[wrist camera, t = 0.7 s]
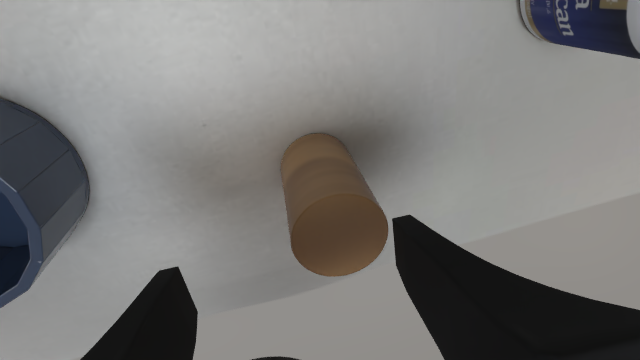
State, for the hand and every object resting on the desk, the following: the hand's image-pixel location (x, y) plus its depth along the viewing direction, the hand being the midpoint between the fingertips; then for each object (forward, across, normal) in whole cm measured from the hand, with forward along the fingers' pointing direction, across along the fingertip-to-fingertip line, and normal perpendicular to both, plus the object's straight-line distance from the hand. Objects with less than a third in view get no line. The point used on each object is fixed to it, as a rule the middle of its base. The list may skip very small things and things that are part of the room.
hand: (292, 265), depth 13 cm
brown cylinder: (+9, -2, +1) cm, 9 cm away
